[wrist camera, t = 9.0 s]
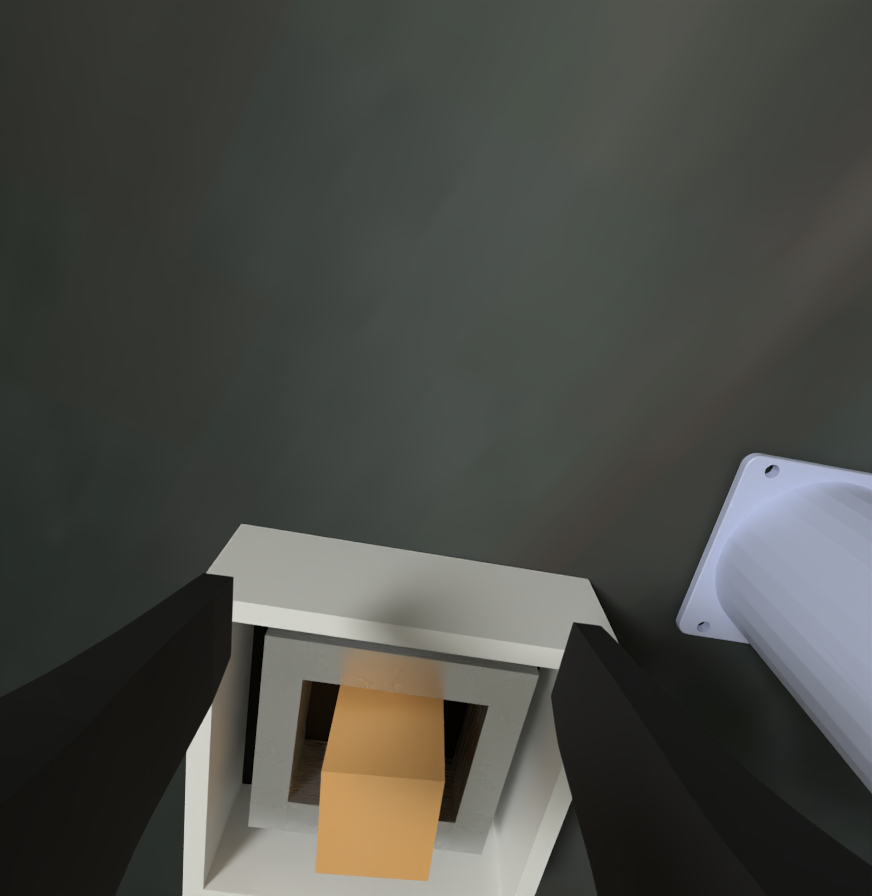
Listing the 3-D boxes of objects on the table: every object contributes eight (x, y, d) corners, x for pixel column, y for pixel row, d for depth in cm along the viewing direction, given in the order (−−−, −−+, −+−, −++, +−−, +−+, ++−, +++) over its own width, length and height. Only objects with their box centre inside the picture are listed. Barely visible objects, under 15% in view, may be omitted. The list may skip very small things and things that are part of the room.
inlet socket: (525, 621, 22) (539, 675, 19) (476, 788, 25) (481, 854, 23) (287, 585, 21) (265, 635, 18) (269, 761, 25) (248, 826, 22)
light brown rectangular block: (442, 650, 23) (444, 781, 17) (429, 736, 24) (427, 881, 19) (349, 641, 22) (321, 771, 17) (343, 728, 24) (315, 873, 18)
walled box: (588, 579, 21) (626, 659, 17) (504, 828, 26) (517, 937, 22) (241, 523, 20) (190, 594, 16) (224, 792, 25) (182, 900, 21)
